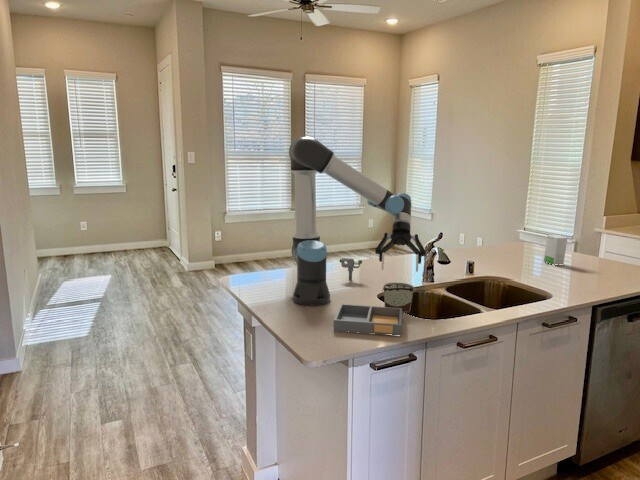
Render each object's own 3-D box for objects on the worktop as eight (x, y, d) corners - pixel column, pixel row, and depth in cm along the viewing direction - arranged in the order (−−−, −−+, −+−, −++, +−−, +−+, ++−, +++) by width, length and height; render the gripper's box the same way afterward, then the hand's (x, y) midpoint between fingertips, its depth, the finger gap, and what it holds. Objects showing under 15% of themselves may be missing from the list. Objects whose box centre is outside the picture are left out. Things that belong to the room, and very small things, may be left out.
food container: (410, 306, 179) (411, 282, 177) (413, 312, 173) (415, 286, 171) (378, 306, 179) (379, 282, 177) (381, 312, 173) (382, 286, 171)
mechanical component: (360, 281, 212) (361, 260, 210) (338, 280, 214) (339, 259, 212) (361, 279, 215) (362, 259, 213) (339, 278, 217) (340, 257, 215)
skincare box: (543, 262, 253) (546, 234, 250) (553, 261, 255) (556, 234, 252) (554, 266, 245) (557, 237, 242) (564, 265, 247) (568, 237, 244)
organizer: (333, 331, 154) (333, 320, 153) (340, 314, 170) (340, 303, 169) (400, 337, 150) (401, 325, 149) (401, 318, 166) (402, 308, 166)
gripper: (430, 231, 195) (430, 275, 184) (372, 229, 199) (368, 271, 188) (432, 221, 189) (432, 265, 177) (371, 219, 193) (368, 262, 182)
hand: (399, 269), depth 183 cm, fingers open, 13 cm apart
